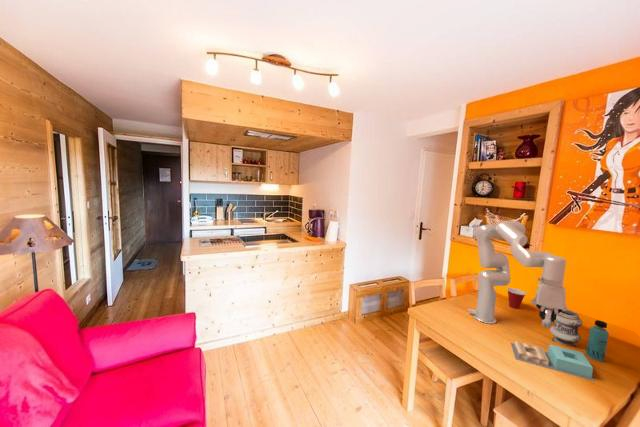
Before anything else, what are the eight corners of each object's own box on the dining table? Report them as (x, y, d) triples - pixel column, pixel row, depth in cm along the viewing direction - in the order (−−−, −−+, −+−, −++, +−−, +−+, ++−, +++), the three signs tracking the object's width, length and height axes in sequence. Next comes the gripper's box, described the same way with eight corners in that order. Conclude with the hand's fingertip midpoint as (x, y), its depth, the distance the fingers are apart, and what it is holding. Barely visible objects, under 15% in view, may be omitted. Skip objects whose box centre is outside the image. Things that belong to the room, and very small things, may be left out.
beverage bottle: (581, 355, 131) (587, 318, 129) (593, 355, 132) (599, 318, 130) (595, 364, 125) (602, 325, 123) (608, 364, 125) (615, 325, 123)
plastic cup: (527, 311, 177) (529, 294, 175) (509, 309, 179) (511, 292, 178) (519, 304, 187) (521, 288, 186) (502, 302, 190) (504, 286, 188)
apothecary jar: (549, 334, 150) (554, 304, 148) (579, 343, 141) (584, 312, 139) (547, 342, 141) (552, 311, 139) (578, 353, 133) (584, 320, 131)
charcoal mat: (515, 362, 125) (515, 359, 125) (510, 345, 138) (510, 342, 138) (595, 384, 112) (596, 381, 112) (581, 363, 125) (581, 361, 125)
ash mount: (518, 357, 126) (519, 353, 126) (514, 345, 136) (515, 341, 135) (548, 365, 121) (548, 360, 121) (541, 352, 131) (542, 348, 130)
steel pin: (542, 326, 124) (545, 308, 123) (541, 323, 126) (543, 305, 125) (551, 328, 122) (553, 310, 121) (549, 325, 125) (552, 307, 124)
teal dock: (555, 368, 119) (556, 358, 119) (547, 353, 130) (549, 344, 129) (591, 378, 114) (593, 367, 113) (580, 362, 124) (581, 352, 124)
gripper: (531, 281, 122) (526, 318, 125) (578, 289, 114) (572, 328, 117) (528, 276, 129) (523, 311, 131) (572, 283, 121) (567, 321, 123)
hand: (547, 319), depth 124 cm, fingers closed on steel pin, 3 cm apart
